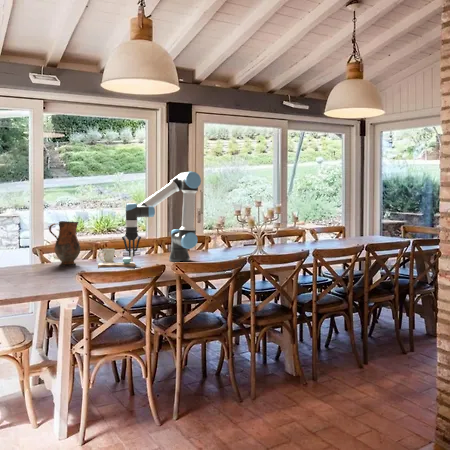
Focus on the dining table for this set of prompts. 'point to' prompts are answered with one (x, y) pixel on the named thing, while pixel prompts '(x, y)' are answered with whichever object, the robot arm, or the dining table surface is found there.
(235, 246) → the dining table surface
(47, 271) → the dining table surface
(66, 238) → the pitcher
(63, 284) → the dining table surface
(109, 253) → the mug
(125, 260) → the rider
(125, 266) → the wooden flat board
